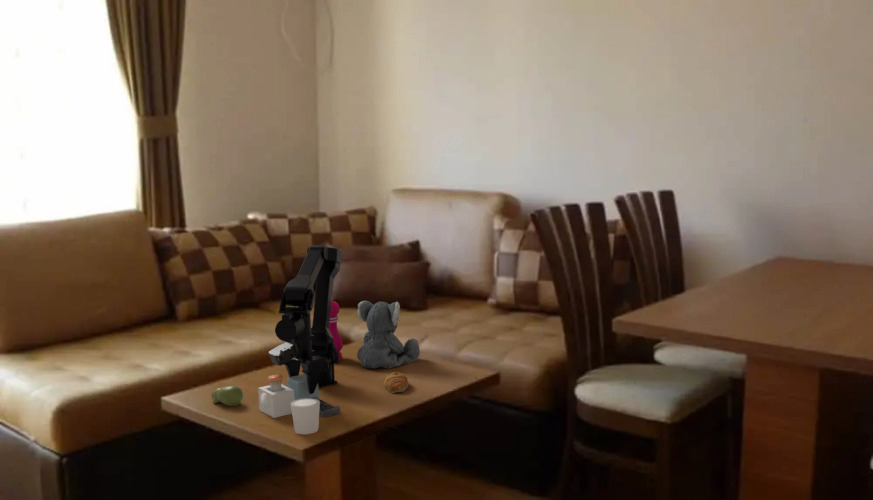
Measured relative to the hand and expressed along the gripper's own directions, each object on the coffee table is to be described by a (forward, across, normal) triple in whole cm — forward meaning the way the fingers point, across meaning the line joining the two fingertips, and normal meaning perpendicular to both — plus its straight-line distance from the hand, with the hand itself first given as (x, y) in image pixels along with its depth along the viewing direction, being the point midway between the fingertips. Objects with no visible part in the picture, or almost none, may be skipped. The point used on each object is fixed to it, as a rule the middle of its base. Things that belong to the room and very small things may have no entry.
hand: (302, 389), depth 236 cm
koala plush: (+4, -16, +37) cm, 41 cm away
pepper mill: (+4, -30, +27) cm, 41 cm away
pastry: (+4, +7, +26) cm, 27 cm away
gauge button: (0, +3, -9) cm, 9 cm away
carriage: (+3, 0, 0) cm, 3 cm away
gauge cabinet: (+3, +3, -9) cm, 10 cm away
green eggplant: (+4, -12, -16) cm, 20 cm away
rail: (+3, +5, 0) cm, 6 cm away
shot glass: (+4, +20, -10) cm, 22 cm away
